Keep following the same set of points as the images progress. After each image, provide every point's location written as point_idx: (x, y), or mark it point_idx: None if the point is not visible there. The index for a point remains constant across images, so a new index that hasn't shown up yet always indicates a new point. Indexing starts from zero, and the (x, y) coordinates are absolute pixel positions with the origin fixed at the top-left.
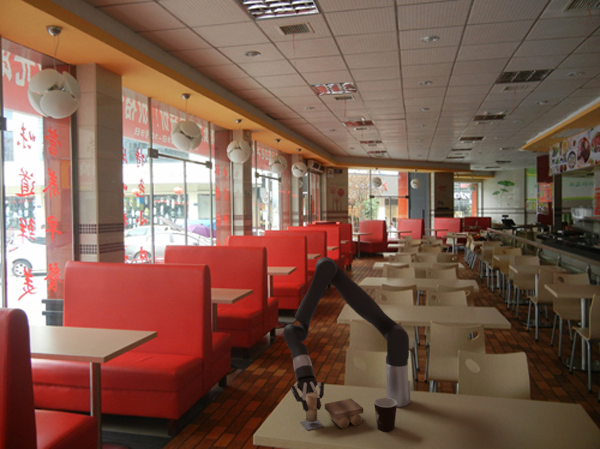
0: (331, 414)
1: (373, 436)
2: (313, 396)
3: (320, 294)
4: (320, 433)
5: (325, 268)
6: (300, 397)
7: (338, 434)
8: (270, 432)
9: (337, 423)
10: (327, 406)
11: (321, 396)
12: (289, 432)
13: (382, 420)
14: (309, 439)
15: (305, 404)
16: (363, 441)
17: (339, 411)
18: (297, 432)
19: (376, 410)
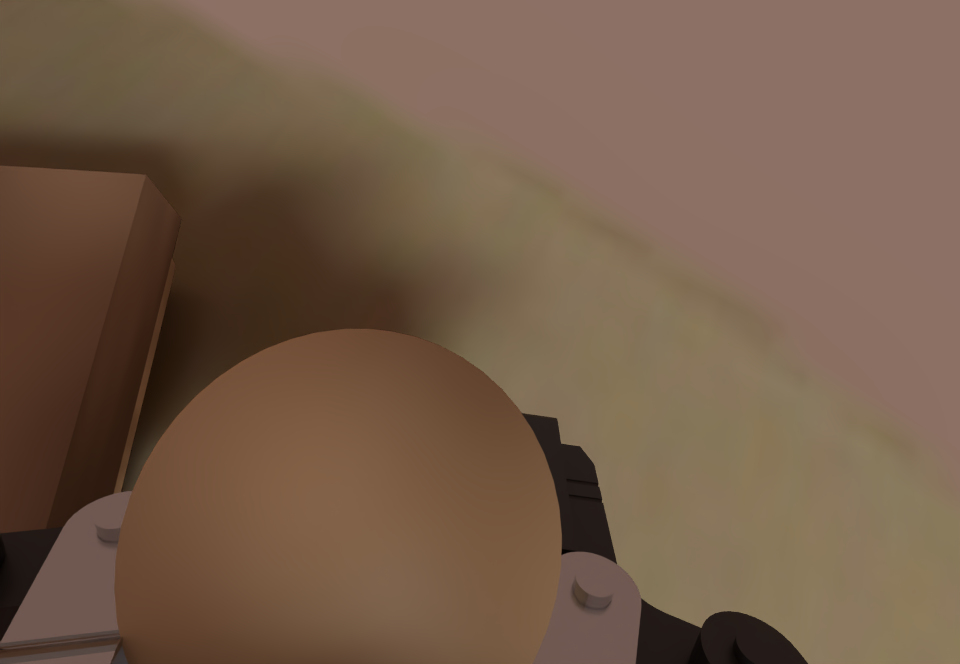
0: (145, 344)
1: (13, 51)
2: (365, 329)
3: None
4: (417, 309)
5: None
6: (707, 648)
7: (266, 213)
8: (938, 591)
9: (162, 302)
10: (59, 484)
11: (1, 542)
12: (722, 484)
13: None
14: (569, 258)
15: (561, 477)
16: (155, 31)
17: (33, 214)
18: (637, 441)
19: None
